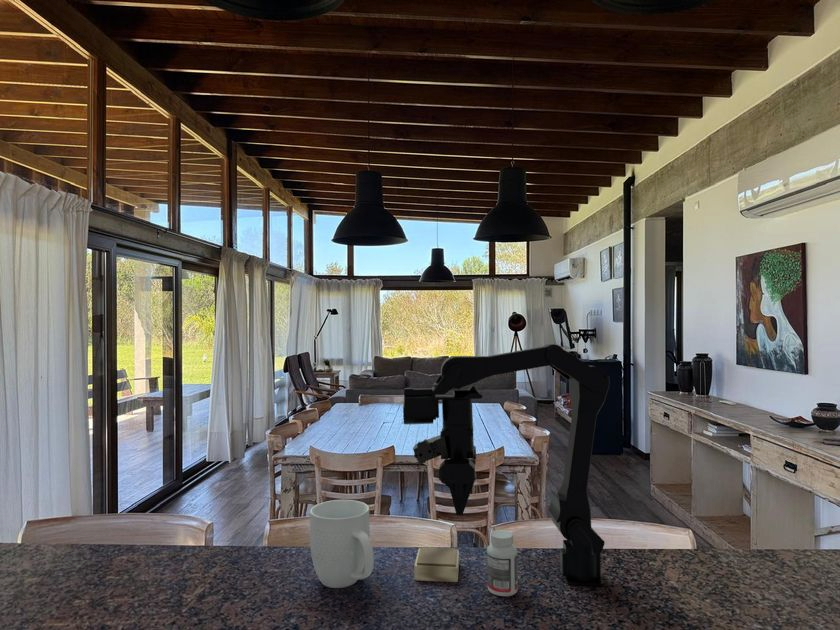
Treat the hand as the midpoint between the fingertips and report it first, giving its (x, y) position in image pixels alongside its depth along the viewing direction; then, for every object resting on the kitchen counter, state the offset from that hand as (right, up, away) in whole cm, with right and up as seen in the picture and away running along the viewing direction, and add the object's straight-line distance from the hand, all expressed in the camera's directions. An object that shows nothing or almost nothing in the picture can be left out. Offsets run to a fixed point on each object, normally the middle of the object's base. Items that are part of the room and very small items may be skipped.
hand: (460, 506), depth 96 cm
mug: (-22, -13, -2) cm, 26 cm away
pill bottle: (+7, -13, -5) cm, 16 cm away
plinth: (-4, -13, +2) cm, 14 cm away
